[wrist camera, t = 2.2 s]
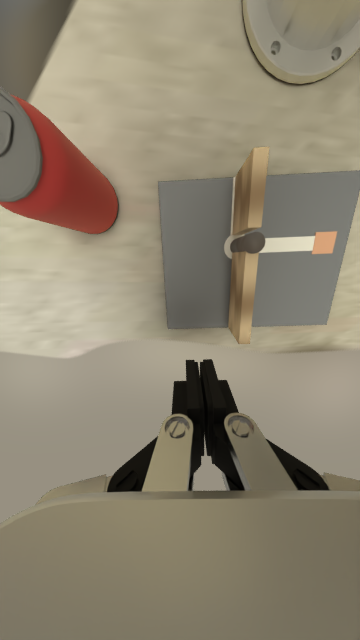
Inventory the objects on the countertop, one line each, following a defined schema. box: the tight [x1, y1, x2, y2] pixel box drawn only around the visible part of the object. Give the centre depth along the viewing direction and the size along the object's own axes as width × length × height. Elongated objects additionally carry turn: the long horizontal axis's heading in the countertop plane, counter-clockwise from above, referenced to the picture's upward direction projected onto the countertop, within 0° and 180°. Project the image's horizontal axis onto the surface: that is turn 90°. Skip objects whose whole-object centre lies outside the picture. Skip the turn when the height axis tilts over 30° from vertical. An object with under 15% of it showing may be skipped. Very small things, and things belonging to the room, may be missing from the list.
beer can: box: [0, 86, 118, 234], centre depth 16 cm, size 7×7×12 cm
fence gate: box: [228, 232, 265, 344], centre depth 20 cm, size 11×2×6 cm, turn 2°
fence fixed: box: [232, 147, 269, 235], centre depth 18 cm, size 6×1×6 cm, turn 2°
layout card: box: [158, 170, 360, 329], centre depth 23 cm, size 18×22×1 cm
